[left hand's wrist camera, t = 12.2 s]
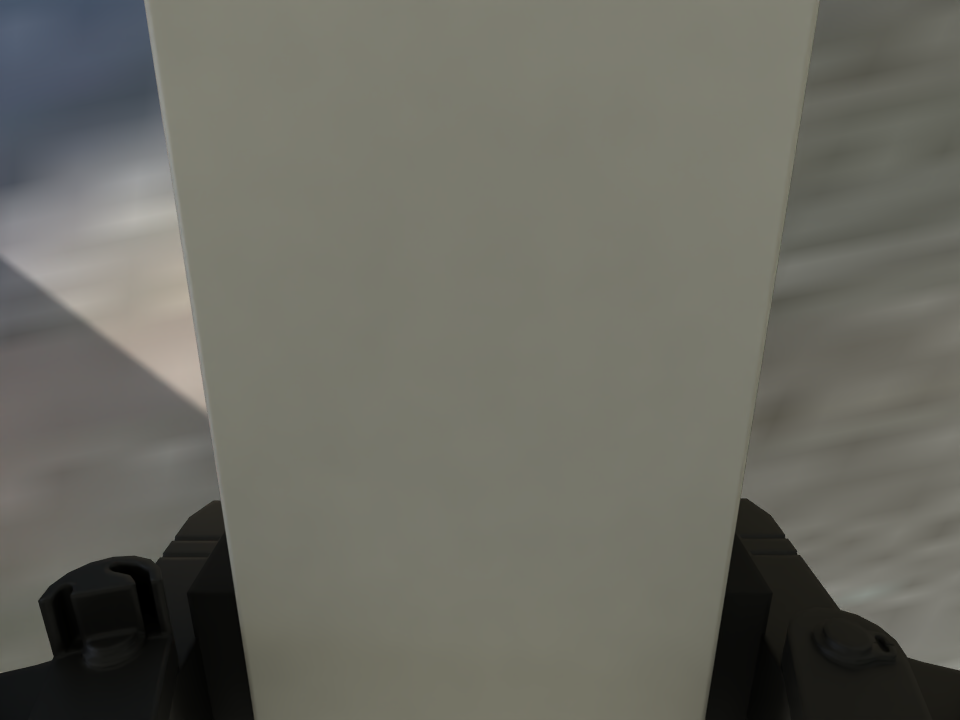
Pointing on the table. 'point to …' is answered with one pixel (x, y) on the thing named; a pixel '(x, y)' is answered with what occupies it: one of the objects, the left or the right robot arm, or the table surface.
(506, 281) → the bar
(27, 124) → the table surface
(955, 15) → the table surface
